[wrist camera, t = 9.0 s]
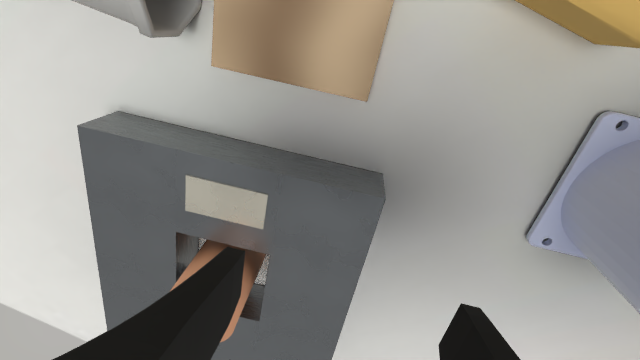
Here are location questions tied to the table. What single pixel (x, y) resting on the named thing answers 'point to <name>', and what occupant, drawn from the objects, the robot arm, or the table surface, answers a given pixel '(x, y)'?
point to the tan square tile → (303, 41)
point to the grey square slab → (228, 228)
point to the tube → (150, 14)
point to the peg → (249, 275)
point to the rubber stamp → (594, 19)
